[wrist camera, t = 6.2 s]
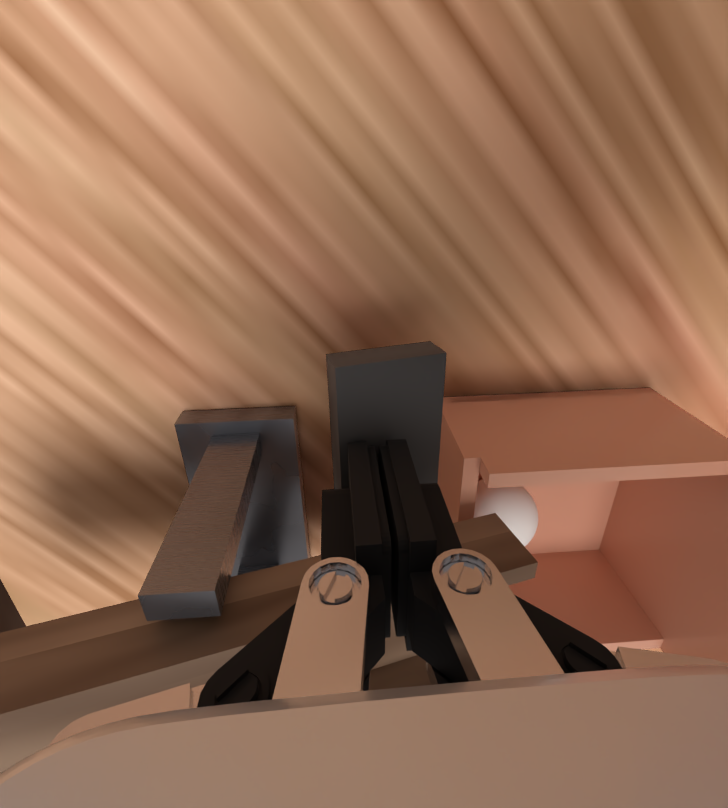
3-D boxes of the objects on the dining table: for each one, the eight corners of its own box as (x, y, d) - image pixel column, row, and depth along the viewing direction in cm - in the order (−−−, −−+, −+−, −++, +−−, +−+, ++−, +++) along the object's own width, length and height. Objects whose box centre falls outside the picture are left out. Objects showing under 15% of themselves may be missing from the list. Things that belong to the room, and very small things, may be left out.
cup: (435, 397, 20) (502, 538, 12) (649, 387, 21) (848, 517, 13) (425, 560, 25) (469, 740, 17) (601, 548, 25) (725, 718, 17)
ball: (542, 469, 21) (467, 457, 22) (545, 517, 18) (458, 501, 19) (531, 526, 22) (461, 512, 23) (532, 579, 20) (452, 561, 20)
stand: (183, 411, 20) (72, 583, 11) (295, 405, 20) (268, 570, 12) (220, 572, 24) (160, 781, 16) (311, 566, 25) (300, 768, 16)
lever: (-297, 386, 11) (-779, 579, 5) (471, 305, 16) (597, 364, 11) (-54, 705, 16) (-174, 942, 11) (447, 569, 22) (520, 689, 17)
